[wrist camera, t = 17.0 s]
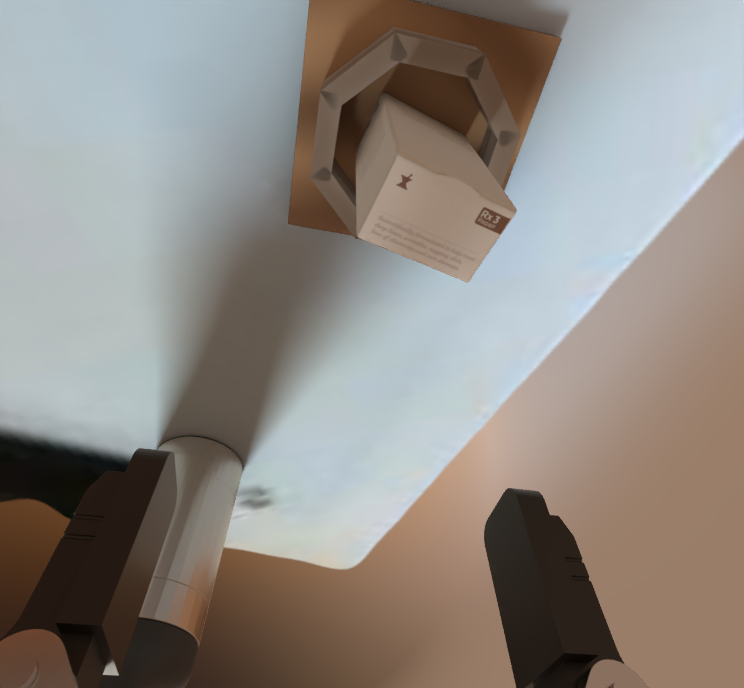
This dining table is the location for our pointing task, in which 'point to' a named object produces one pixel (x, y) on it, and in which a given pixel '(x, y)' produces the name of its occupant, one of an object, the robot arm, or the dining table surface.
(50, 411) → the dining table surface
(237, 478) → the robot arm
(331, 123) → the collar dock
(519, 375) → the dining table surface
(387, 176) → the skincare box
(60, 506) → the dining table surface
